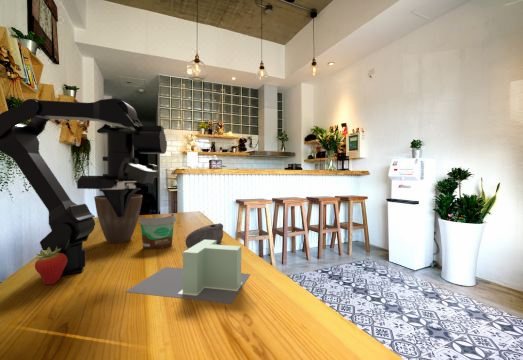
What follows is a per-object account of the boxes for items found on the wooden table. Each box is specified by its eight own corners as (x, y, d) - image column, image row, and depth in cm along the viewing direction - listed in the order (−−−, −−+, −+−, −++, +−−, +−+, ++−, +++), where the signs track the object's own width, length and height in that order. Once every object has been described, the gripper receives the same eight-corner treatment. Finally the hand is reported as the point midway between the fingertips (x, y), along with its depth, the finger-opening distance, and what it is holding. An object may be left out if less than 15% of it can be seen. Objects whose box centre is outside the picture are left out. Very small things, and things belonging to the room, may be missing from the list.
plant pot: (151, 239, 92) (151, 195, 92) (108, 248, 79) (108, 198, 79) (128, 233, 100) (128, 193, 99) (85, 242, 87) (85, 196, 87)
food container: (148, 252, 75) (148, 219, 75) (138, 249, 79) (138, 217, 79) (183, 244, 85) (183, 214, 85) (173, 241, 89) (173, 213, 89)
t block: (182, 292, 49) (182, 252, 49) (204, 273, 59) (204, 239, 59) (231, 298, 47) (231, 255, 47) (245, 277, 57) (245, 242, 57)
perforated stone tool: (190, 254, 75) (190, 230, 75) (180, 250, 78) (180, 228, 78) (228, 244, 86) (228, 223, 86) (218, 241, 90) (218, 222, 89)
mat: (124, 293, 49) (124, 291, 49) (165, 267, 63) (165, 266, 63) (231, 305, 45) (231, 303, 45) (250, 275, 59) (250, 274, 59)
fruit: (35, 282, 54) (35, 245, 54) (66, 276, 57) (66, 241, 57) (34, 291, 50) (33, 251, 50) (68, 284, 53) (67, 246, 53)
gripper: (121, 148, 51) (121, 225, 51) (171, 156, 69) (171, 212, 69) (74, 149, 53) (75, 223, 53) (135, 156, 71) (135, 211, 71)
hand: (120, 217), depth 61 cm, fingers closed
